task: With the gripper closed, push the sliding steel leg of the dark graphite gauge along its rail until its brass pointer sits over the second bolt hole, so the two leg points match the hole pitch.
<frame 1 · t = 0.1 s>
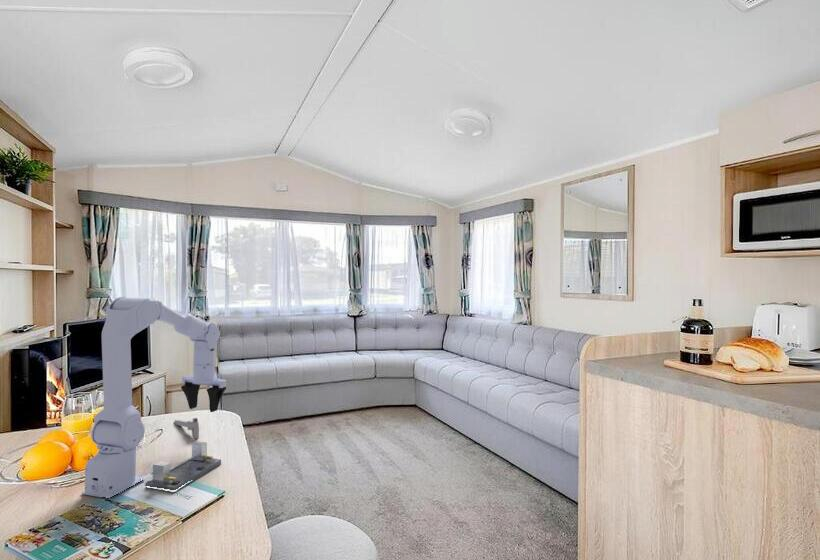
hand: (203, 409, 128), 10 cm above the table, tool pointing down, fingers open, 7 cm apart
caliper: (185, 431, 138), on the table
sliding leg: (185, 475, 107), resting on gauge plate, slide at 0.0 cm
gauge plate: (185, 475, 107), on the table
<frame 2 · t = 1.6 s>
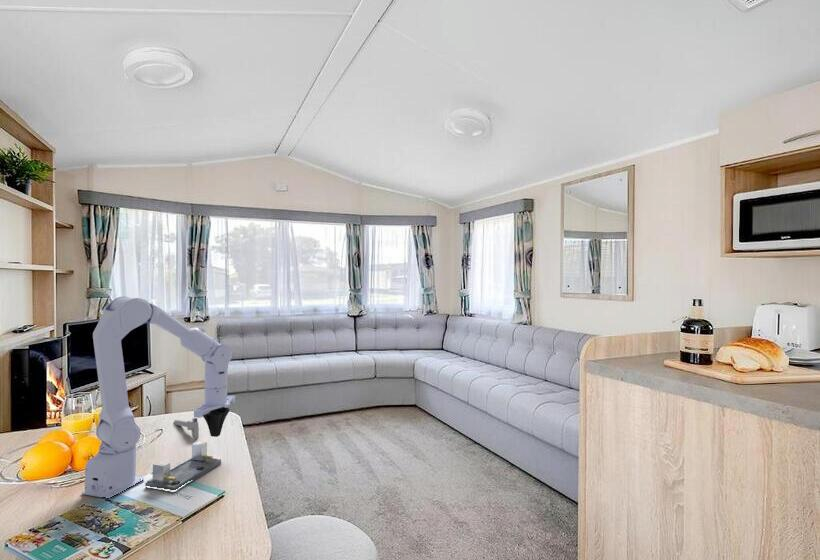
hand: (215, 435, 120), 5 cm above the table, tool pointing down, fingers closed
nothing on the table moved.
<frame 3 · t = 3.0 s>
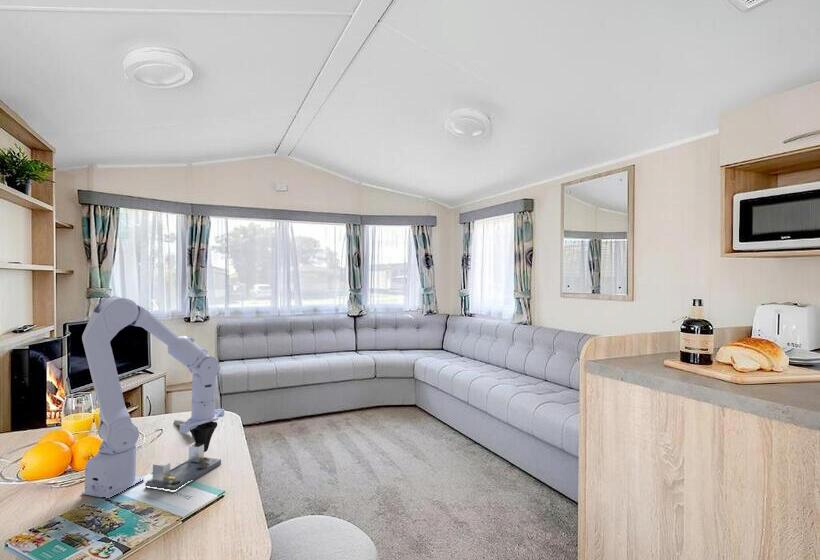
hand: (202, 451, 115), 3 cm above the table, tool pointing down, fingers closed
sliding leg: (182, 477, 106), resting on gauge plate, slide at 1.1 cm, touching gripper
everything else where it was.
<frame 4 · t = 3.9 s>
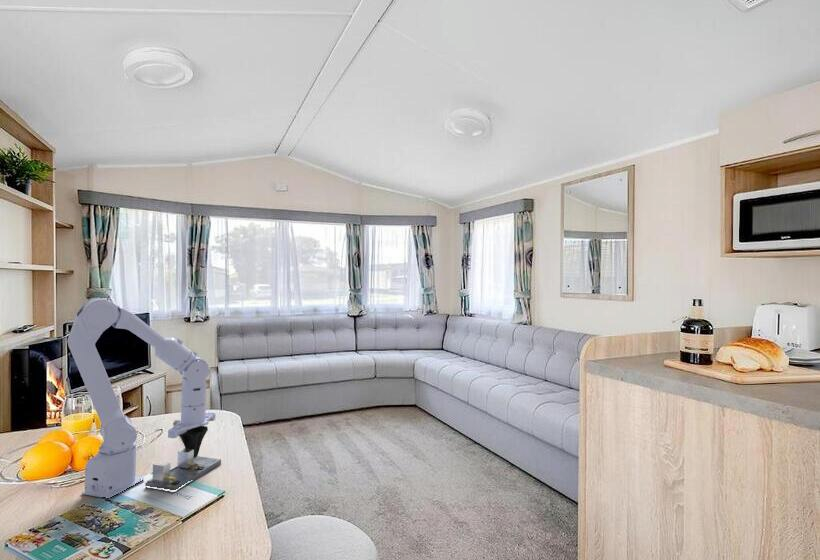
hand: (192, 456, 112), 3 cm above the table, tool pointing down, fingers closed
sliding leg: (170, 484, 103), resting on gauge plate, slide at 4.8 cm, touching gripper
everything else where it was.
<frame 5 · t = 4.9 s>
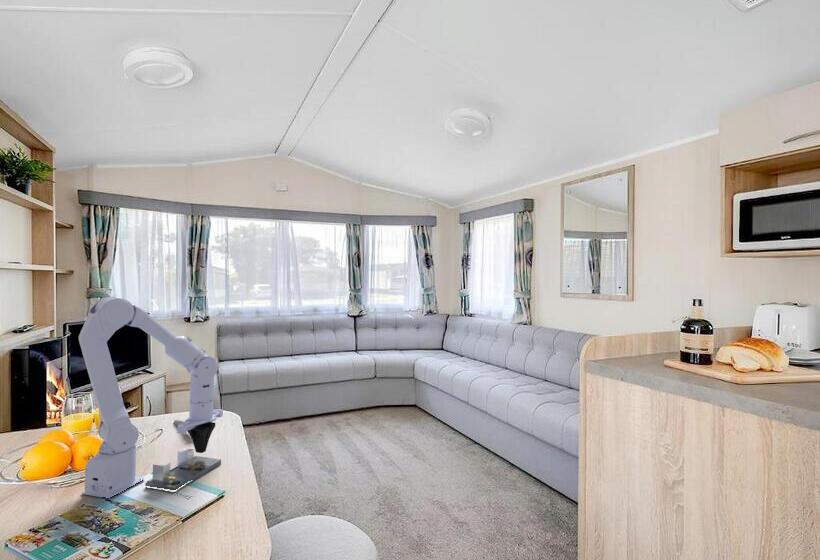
hand: (200, 451, 114), 3 cm above the table, tool pointing down, fingers closed
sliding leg: (170, 484, 103), resting on gauge plate, slide at 4.9 cm
everything else where it was.
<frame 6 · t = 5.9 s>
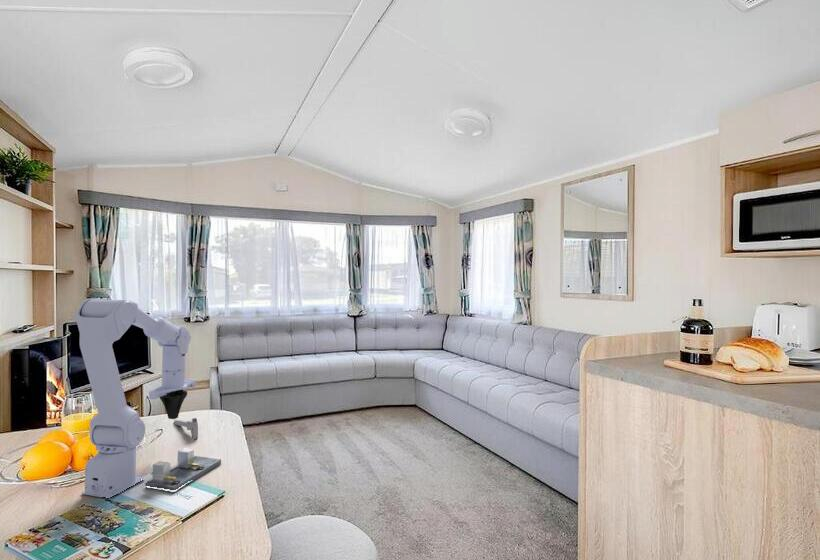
hand: (172, 418, 121), 9 cm above the table, tool pointing down, fingers closed
nothing on the table moved.
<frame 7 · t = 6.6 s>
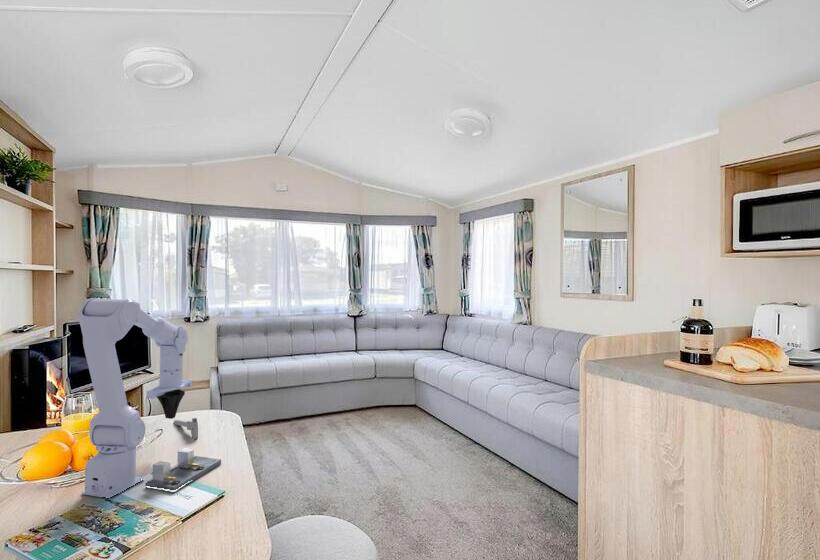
hand: (170, 417, 122), 9 cm above the table, tool pointing down, fingers closed
nothing on the table moved.
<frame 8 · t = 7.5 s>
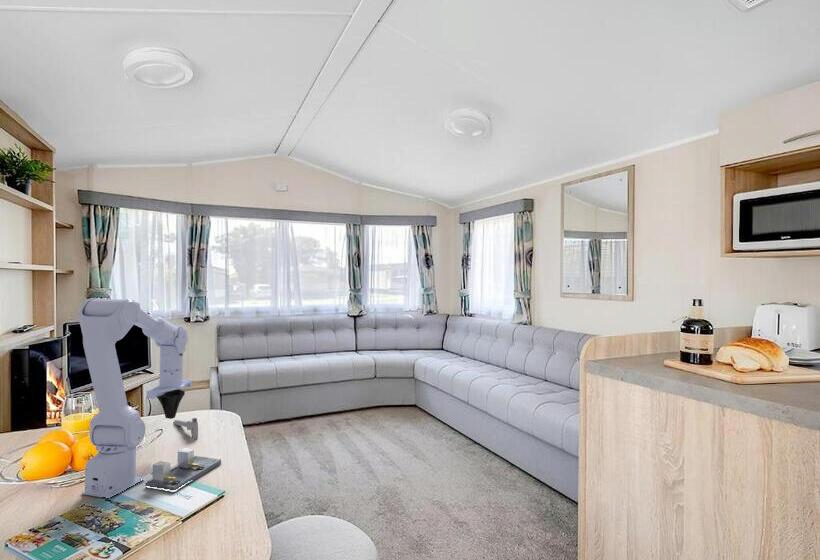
hand: (170, 417, 122), 9 cm above the table, tool pointing down, fingers closed
nothing on the table moved.
at the end: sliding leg slide at 4.9 cm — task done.
